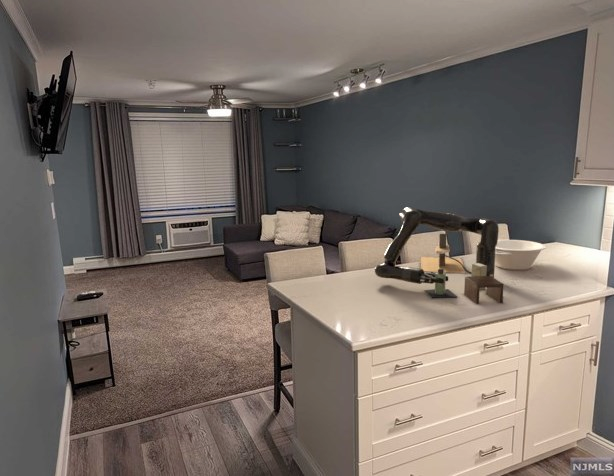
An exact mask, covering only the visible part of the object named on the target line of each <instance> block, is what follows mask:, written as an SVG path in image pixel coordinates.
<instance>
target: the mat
mask: <svg viewBox="0 0 614 476" xmlns="http://www.w3.org/2000/svg"><path fill="white" fill-rule="evenodd" d="M424 292H425V293H426V294H427V296H429V297H430V298H431V299H453V298H455V299H457V298H458V296H457V295H456V294H455V293H454V292H453V291H451V290H450V289H448V288H445V294H443V295H439V294H435V289H424Z"/></svg>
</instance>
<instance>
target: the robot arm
mask: <svg viewBox="0 0 614 476" xmlns="http://www.w3.org/2000/svg"><path fill="white" fill-rule="evenodd" d="M399 219H400V221H401V222H402V226H401V229H400V231H399V233H398V234H397V235H396V236H395V237H394V238H393V239H392V241H391V242H390V243H389V245H388V247H387V248H386V251H385V253H384V255H383V258H384V262H383V263H380V264H377V265H376V266H375V268H374V274H375V275H376V276H377V277H378V278H381V279H393V280H396V281H403V282H406V283H412V284H419V285H421V284H431V285H433V284H435V283H442V284H443V283H444V279H441V278H435V273H436V272H425V271H424V270H423V269H421V268H419V267H412V266H402V265H401V266H400V265H397V261H398V259H399V257H400V255H401V253H402V252H403V249H404V248H405V246H406V244H407V242H408V241H409V239H410V238H411V237H412V235H413V234H414V233H415V231H416V230H417V228H418V227H419V226H420V225H423V226H428V227H430V228H433V229H436V230H439V231H444V232H445V231H446V232H456V233H458V232H467V233H468V232H469V233H474V234H477V235H480V241H479V242H477V243H476V254H475V263H480V264H483V265H486V266H487V272H486V276H491V277H493V278H494V279H495V269H496V268H495V267H496V265H495V248H496V245H497V242H498V240H499V231H500V228H499V224H498V222H497V221H496V220H495V219H491V218H486V217H468V216H464V215H460V214H457V213H456V214H455V213H451V212H442V211H429V210H423V209H419V208H415V207H410V206H407V207H404V208H402V210H401V211H400V213H399ZM445 258H452V259H454V258H455V257H452V256H449V255H446V254H445ZM454 260H456V259H454ZM456 261H458V260H456ZM458 262H459V263H460V264H461V265H462V266H463V265H464V263H463V264H462V263H461V262H460V261H458ZM463 268H464V269H465V271H466V273H469V274H471V272H472V271H469V270H468V269H466V267H465V265H464V266H463ZM446 282H449V276H448V275H446Z"/></svg>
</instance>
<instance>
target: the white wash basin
mask: <svg viewBox="0 0 614 476" xmlns="http://www.w3.org/2000/svg"><path fill="white" fill-rule="evenodd" d="M545 249H547V246H546V245H545V244H543V243H541V242H537V241H531V240H523V239H522V240H521V239H498V242H497V245H496V248H495V267H498V268H500V269H503V270H508V271H509V270H510V271H525V270H529V269H531V268H532V266H533V265H534V263H535V261H536V259H537V258H538V257H539V255H540V253H541V251H543V250H545Z"/></svg>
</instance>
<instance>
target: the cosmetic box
mask: <svg viewBox="0 0 614 476" xmlns="http://www.w3.org/2000/svg"><path fill="white" fill-rule="evenodd" d="M470 272H471V273H470V276H486V272H487V266H486V265H483V264H480V263H476V262H475V263H471V271H470ZM481 290H486V288H480V291H481Z"/></svg>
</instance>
